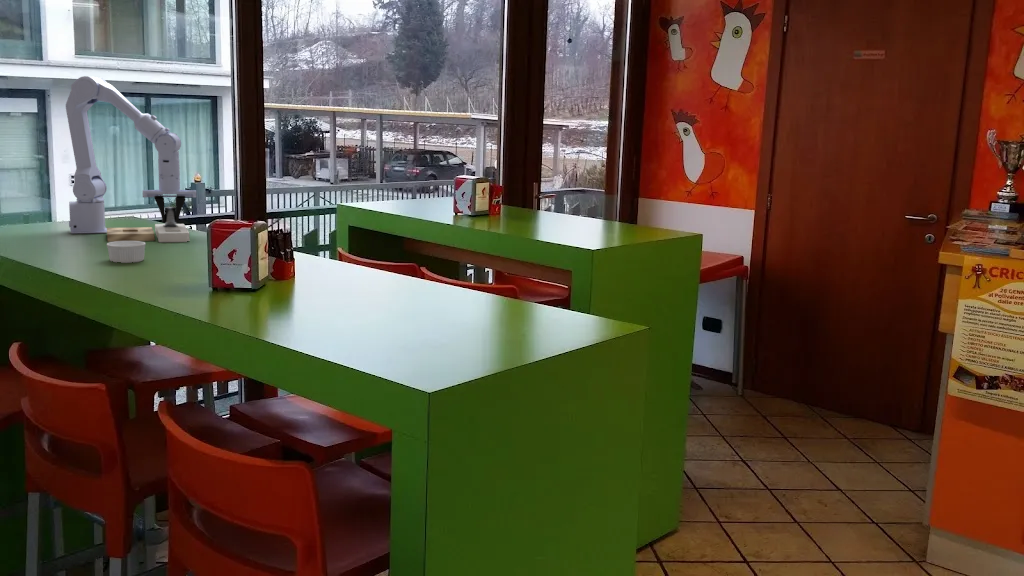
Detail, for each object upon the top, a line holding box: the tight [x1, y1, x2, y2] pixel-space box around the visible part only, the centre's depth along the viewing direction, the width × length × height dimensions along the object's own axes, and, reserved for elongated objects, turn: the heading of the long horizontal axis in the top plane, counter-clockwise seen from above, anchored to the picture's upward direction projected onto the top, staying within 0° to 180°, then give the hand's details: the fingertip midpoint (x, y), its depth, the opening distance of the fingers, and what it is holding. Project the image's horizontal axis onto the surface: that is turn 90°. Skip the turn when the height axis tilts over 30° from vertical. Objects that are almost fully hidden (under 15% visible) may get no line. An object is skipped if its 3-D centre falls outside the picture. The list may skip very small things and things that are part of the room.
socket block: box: [106, 226, 156, 242], centre depth 257 cm, size 12×12×2 cm
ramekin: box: [106, 241, 146, 264], centre depth 224 cm, size 9×9×4 cm
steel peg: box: [164, 206, 177, 227], centre depth 264 cm, size 3×3×7 cm
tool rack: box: [154, 223, 190, 243], centre depth 261 cm, size 8×18×2 cm, turn 24°
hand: (170, 222), depth 264 cm, fingers closed on steel peg, 3 cm apart
